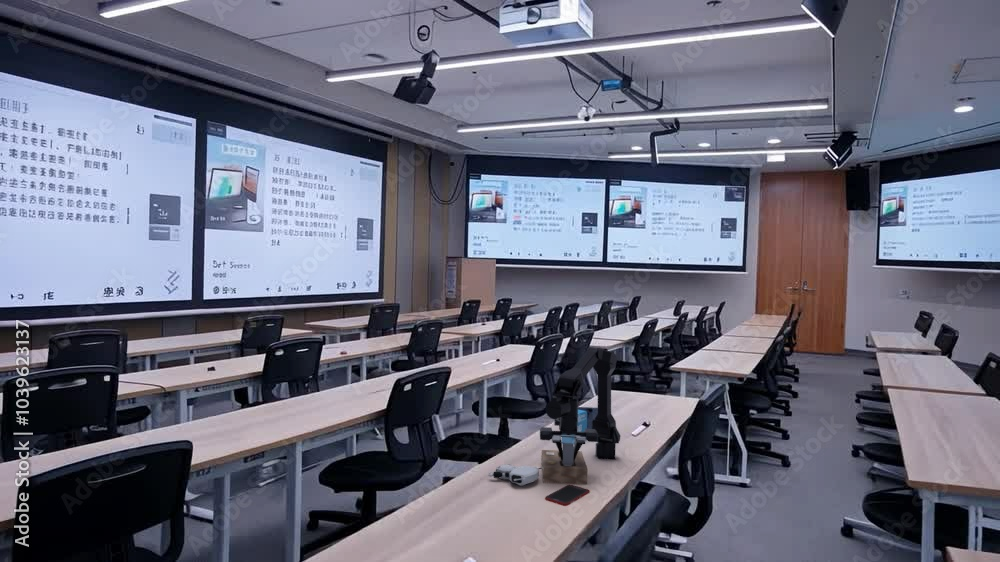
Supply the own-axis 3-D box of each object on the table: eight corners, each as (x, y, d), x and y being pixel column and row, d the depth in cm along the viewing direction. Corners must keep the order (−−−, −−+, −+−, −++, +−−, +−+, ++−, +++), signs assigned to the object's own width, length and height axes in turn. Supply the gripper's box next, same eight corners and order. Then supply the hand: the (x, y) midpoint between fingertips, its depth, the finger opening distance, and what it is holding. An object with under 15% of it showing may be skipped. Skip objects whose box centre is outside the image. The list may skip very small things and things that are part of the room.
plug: (572, 467, 197) (572, 443, 197) (573, 470, 194) (573, 446, 194) (561, 467, 197) (562, 443, 197) (562, 470, 194) (563, 446, 194)
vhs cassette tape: (608, 430, 255) (608, 407, 255) (609, 432, 252) (609, 409, 252) (565, 429, 255) (565, 406, 255) (565, 431, 252) (566, 407, 252)
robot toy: (486, 484, 192) (526, 491, 184) (485, 470, 192) (526, 476, 184) (506, 473, 202) (545, 479, 194) (505, 460, 202) (545, 465, 194)
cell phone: (590, 493, 185) (590, 489, 185) (565, 507, 173) (565, 504, 173) (569, 486, 189) (569, 483, 189) (543, 500, 178) (543, 497, 178)
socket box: (581, 465, 209) (581, 450, 209) (587, 484, 191) (587, 467, 191) (541, 464, 209) (541, 449, 209) (543, 482, 191) (543, 466, 191)
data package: (571, 446, 231) (571, 415, 230) (561, 444, 234) (562, 413, 233) (586, 440, 240) (587, 410, 240) (576, 437, 243) (577, 408, 243)
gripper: (594, 408, 203) (593, 453, 203) (539, 406, 203) (538, 451, 204) (599, 416, 192) (597, 464, 192) (540, 414, 192) (539, 462, 193)
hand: (567, 460), depth 195 cm, fingers closed on plug, 3 cm apart
